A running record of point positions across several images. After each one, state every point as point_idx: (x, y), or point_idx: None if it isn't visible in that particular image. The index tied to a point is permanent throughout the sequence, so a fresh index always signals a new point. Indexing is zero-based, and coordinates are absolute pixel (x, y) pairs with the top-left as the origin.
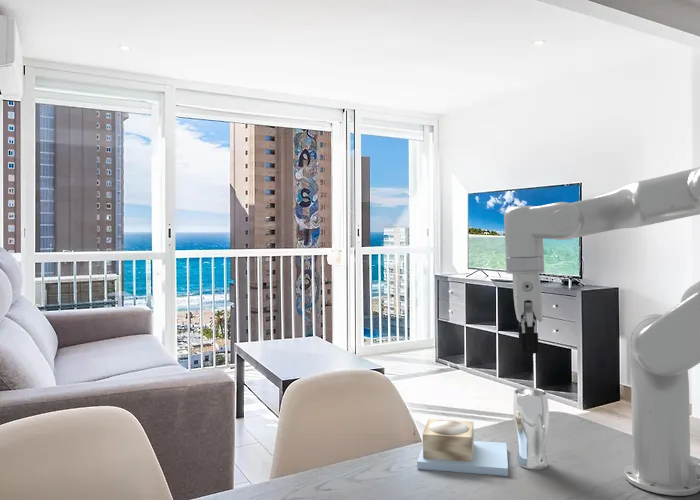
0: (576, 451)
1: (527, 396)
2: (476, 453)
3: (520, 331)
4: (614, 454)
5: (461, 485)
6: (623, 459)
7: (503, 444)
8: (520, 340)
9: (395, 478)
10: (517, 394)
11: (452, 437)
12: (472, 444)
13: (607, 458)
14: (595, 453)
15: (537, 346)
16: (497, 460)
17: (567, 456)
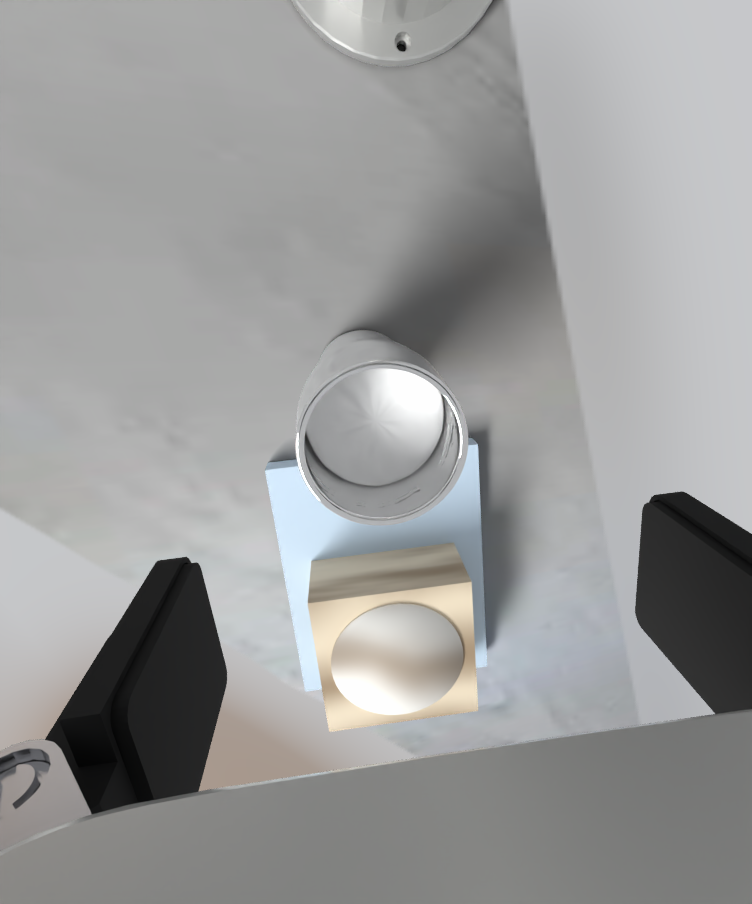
0: (193, 229)
1: (465, 456)
2: (386, 541)
3: (191, 787)
4: (168, 76)
5: (555, 539)
6: (210, 45)
7: (283, 477)
8: (219, 698)
9: (546, 679)
10: (436, 504)
11: (473, 631)
12: (407, 565)
13: (223, 112)
14: (186, 155)
15: (722, 524)
16: None
17: (256, 264)
